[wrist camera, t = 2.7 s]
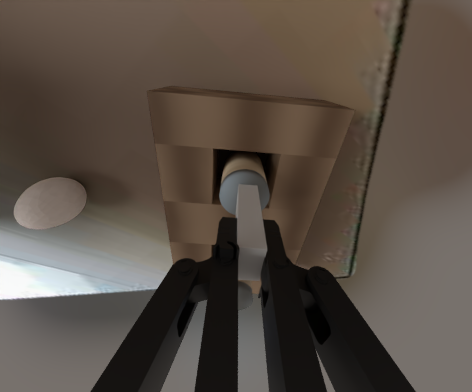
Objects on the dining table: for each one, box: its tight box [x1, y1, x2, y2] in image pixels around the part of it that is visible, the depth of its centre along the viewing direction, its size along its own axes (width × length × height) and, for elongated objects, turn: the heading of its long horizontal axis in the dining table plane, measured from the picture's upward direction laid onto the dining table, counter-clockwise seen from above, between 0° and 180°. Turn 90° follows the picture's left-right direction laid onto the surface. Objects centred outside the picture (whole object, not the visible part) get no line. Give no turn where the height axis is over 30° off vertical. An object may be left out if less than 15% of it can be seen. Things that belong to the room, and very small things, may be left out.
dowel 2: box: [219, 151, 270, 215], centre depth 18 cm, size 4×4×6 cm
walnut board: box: [147, 86, 355, 294], centre depth 24 cm, size 16×26×6 cm, turn 175°
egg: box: [14, 177, 87, 229], centre depth 23 cm, size 5×5×8 cm
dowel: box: [238, 280, 253, 310], centre depth 23 cm, size 4×4×6 cm
